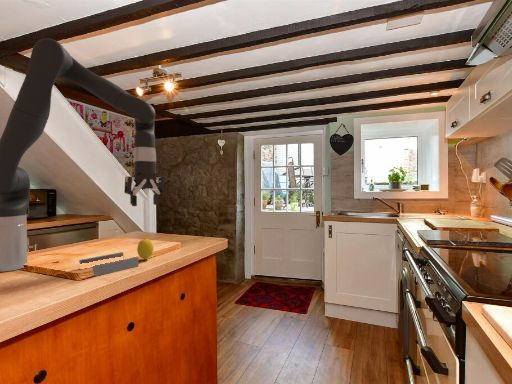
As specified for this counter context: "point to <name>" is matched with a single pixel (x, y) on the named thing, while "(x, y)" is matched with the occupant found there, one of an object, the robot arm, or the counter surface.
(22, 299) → the counter surface
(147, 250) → the lemon
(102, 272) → the guide channel
